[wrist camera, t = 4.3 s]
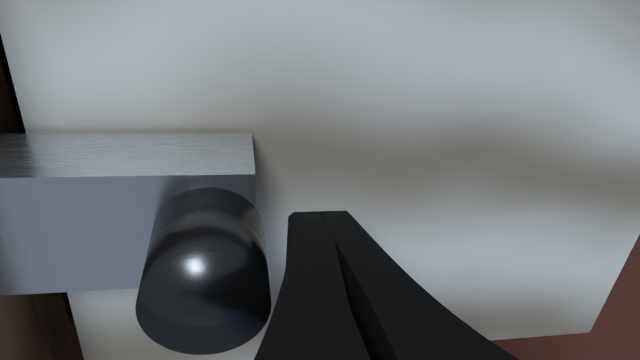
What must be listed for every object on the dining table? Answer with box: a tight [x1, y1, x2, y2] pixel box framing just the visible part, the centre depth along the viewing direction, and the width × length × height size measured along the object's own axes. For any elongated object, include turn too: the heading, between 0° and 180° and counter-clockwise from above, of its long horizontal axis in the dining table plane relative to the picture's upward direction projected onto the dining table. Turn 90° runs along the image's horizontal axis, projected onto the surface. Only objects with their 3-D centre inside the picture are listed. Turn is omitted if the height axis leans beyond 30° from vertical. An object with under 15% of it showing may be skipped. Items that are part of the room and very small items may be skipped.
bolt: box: [0, 133, 271, 355], centre depth 10 cm, size 3×10×4 cm, turn 85°
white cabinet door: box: [0, 0, 640, 360], centre depth 12 cm, size 14×25×6 cm, turn 85°
